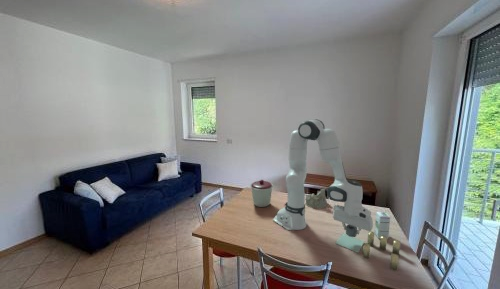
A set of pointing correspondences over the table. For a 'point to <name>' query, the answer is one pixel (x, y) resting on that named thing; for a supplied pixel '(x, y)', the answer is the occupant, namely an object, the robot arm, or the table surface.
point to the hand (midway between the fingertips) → (351, 231)
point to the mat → (350, 243)
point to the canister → (261, 193)
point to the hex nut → (351, 230)
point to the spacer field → (383, 247)
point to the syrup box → (382, 224)
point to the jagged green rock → (316, 200)
